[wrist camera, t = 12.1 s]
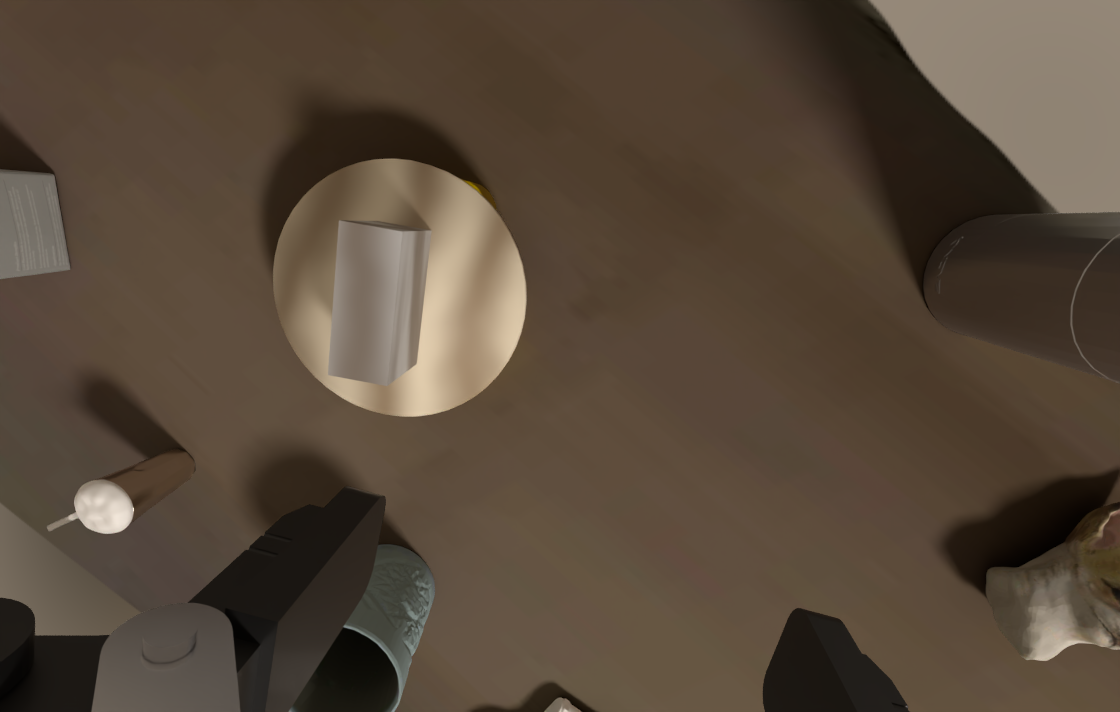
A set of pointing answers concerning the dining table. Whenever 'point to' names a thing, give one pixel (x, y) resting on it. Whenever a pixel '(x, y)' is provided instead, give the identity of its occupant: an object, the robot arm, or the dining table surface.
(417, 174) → the lid
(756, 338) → the dining table surface
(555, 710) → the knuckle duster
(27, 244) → the skincare box
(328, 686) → the blue-grey pot
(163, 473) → the milkshake
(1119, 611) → the ceramic sculpture
